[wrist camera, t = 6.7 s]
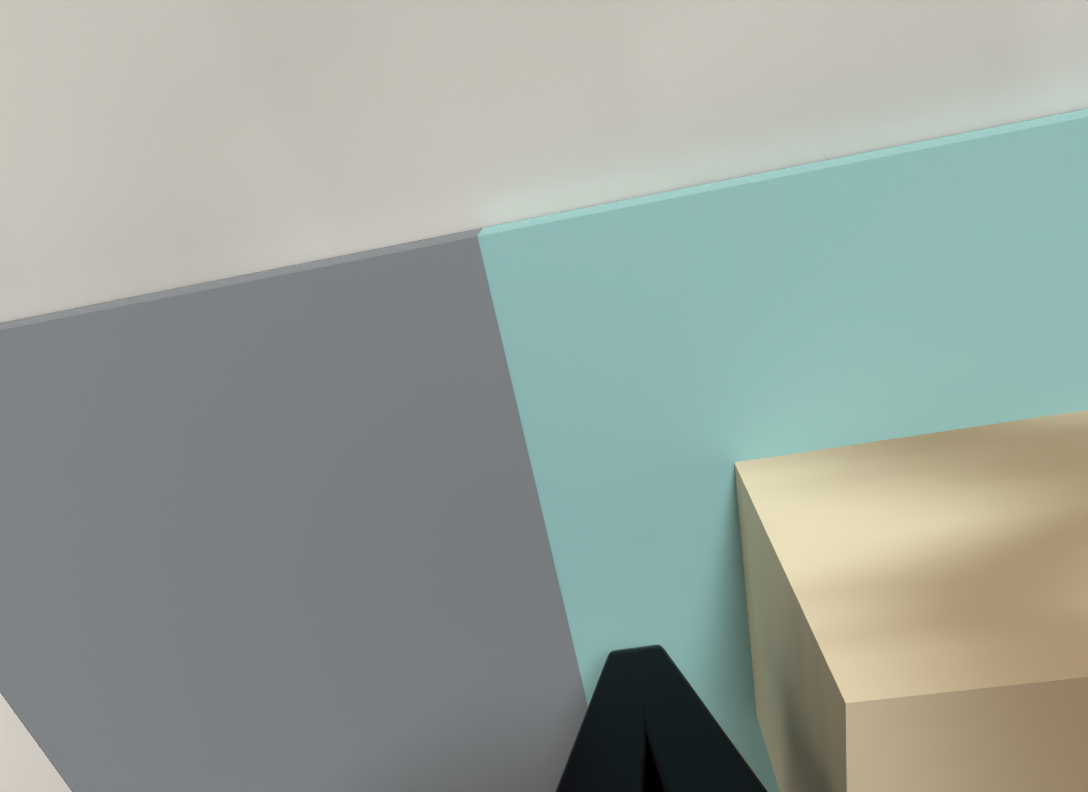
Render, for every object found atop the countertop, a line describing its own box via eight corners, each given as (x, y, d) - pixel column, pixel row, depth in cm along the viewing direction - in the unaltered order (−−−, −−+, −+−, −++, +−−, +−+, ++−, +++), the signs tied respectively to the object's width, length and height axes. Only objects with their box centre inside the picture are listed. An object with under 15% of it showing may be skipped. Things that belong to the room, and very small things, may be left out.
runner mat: (1343, 58, 7) (1404, 54, 7) (1156, 772, 12) (1183, 803, 12) (-185, 359, 10) (-231, 375, 9) (163, 866, 14) (148, 896, 14)
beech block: (1120, 404, 9) (1529, 628, 5) (1072, 681, 11) (1337, 988, 7) (734, 462, 9) (846, 702, 5) (757, 716, 11) (849, 1017, 7)
